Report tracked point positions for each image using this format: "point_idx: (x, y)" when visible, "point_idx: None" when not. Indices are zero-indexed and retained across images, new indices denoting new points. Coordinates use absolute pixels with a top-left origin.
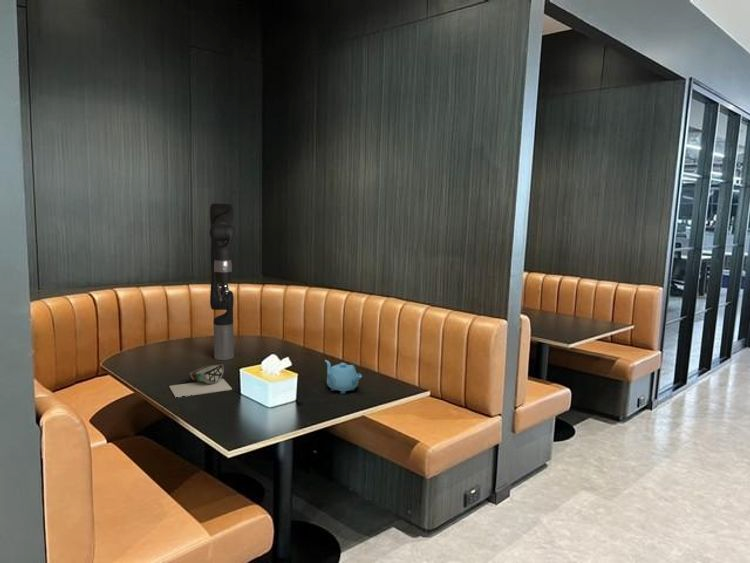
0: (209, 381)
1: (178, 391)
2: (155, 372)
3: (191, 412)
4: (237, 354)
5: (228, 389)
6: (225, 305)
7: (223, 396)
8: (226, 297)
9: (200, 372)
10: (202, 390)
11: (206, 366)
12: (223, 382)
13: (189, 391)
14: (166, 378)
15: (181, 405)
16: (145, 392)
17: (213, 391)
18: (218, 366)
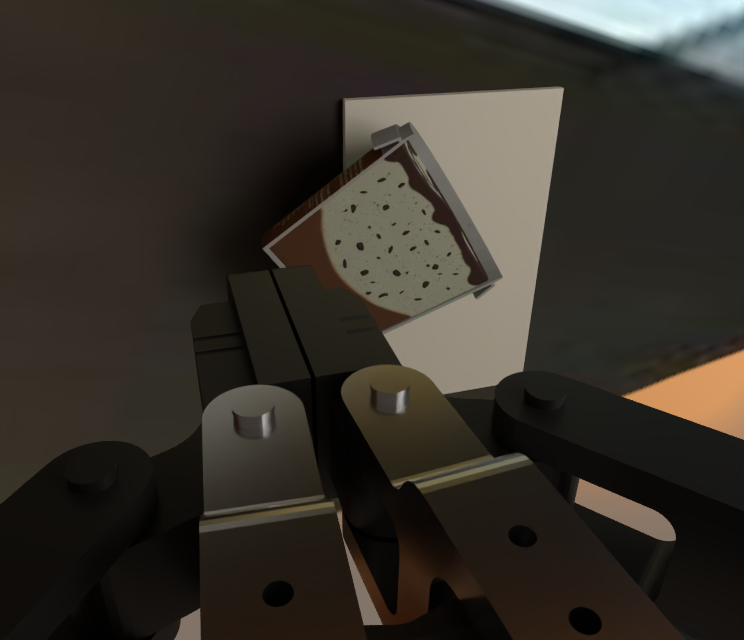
0: (466, 222)
1: (456, 368)
2: (9, 488)
3: (715, 319)
4: None
5: (558, 110)
6: (378, 337)
7: (631, 158)
8: (473, 455)
9: (424, 291)
10: (505, 257)
11: (283, 236)
12: (428, 115)
13: (485, 320)
14: (171, 425)
15: (620, 353)
16: None
17: (546, 201)
18: (416, 172)
